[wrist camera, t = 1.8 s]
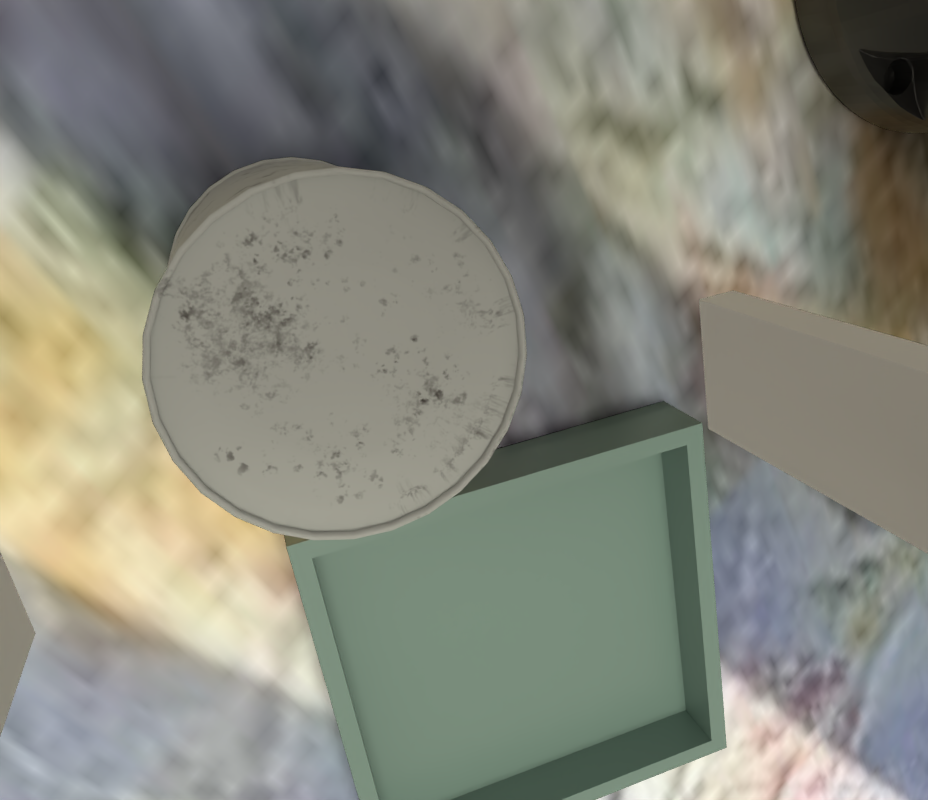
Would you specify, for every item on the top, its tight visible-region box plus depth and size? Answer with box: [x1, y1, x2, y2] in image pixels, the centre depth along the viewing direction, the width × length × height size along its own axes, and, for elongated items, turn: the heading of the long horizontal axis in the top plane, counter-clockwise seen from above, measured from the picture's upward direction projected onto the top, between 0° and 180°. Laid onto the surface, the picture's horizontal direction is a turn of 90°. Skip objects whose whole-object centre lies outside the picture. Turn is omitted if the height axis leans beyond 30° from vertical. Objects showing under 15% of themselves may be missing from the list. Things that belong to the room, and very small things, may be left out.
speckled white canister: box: [142, 157, 527, 540], centre depth 26 cm, size 10×10×12 cm
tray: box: [284, 401, 727, 800], centre depth 37 cm, size 18×18×3 cm
